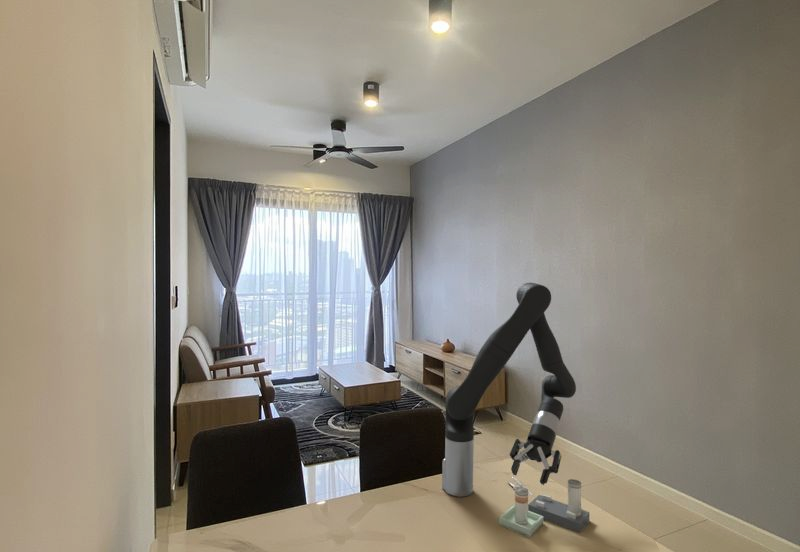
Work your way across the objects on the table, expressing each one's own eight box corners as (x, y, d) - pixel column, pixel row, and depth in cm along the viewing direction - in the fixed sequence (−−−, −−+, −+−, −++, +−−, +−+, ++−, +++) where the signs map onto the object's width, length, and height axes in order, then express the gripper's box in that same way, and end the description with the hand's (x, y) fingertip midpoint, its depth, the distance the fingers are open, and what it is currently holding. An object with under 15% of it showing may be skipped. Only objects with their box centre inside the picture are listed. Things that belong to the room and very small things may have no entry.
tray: (498, 524, 120) (498, 517, 120) (513, 511, 127) (513, 505, 127) (530, 537, 114) (530, 530, 114) (543, 523, 121) (543, 516, 122)
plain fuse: (565, 514, 122) (565, 482, 122) (569, 509, 125) (570, 478, 125) (578, 518, 120) (578, 486, 120) (582, 513, 122) (583, 481, 123)
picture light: (533, 497, 138) (533, 490, 138) (521, 498, 137) (521, 491, 137) (512, 477, 151) (512, 471, 151) (501, 478, 150) (501, 472, 150)
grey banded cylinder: (512, 522, 121) (512, 489, 121) (517, 516, 124) (518, 485, 124) (524, 526, 118) (524, 494, 119) (529, 521, 121) (530, 489, 121)
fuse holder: (528, 513, 127) (528, 500, 127) (538, 502, 133) (539, 490, 133) (580, 532, 117) (580, 519, 117) (589, 520, 123) (589, 507, 123)
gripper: (519, 417, 136) (501, 464, 127) (564, 428, 127) (548, 480, 118) (525, 430, 140) (508, 477, 131) (570, 442, 131) (555, 493, 122)
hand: (527, 478), depth 124 cm, fingers open, 8 cm apart
